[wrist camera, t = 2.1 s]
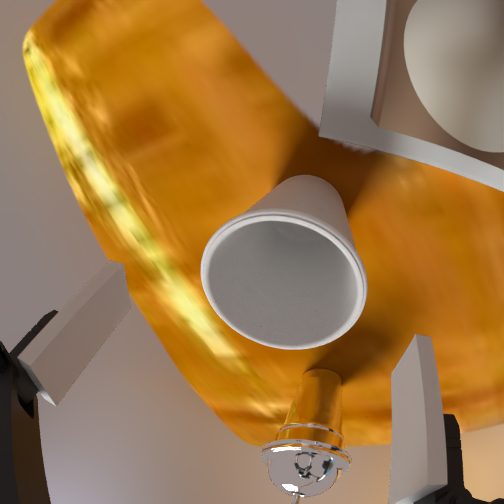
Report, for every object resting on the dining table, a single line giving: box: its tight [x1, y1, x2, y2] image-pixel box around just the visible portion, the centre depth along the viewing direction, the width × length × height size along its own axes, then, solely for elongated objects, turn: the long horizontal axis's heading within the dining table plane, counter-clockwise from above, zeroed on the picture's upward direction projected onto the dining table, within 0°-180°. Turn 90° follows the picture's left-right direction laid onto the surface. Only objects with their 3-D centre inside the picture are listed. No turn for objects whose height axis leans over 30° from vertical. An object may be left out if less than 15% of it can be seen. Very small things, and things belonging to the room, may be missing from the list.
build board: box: [319, 0, 504, 192], centre depth 14 cm, size 16×14×2 cm
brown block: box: [370, 0, 504, 170], centre depth 12 cm, size 10×10×5 cm
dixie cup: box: [201, 175, 368, 349], centre depth 19 cm, size 8×8×10 cm
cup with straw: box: [262, 368, 352, 504], centre depth 24 cm, size 8×9×20 cm
